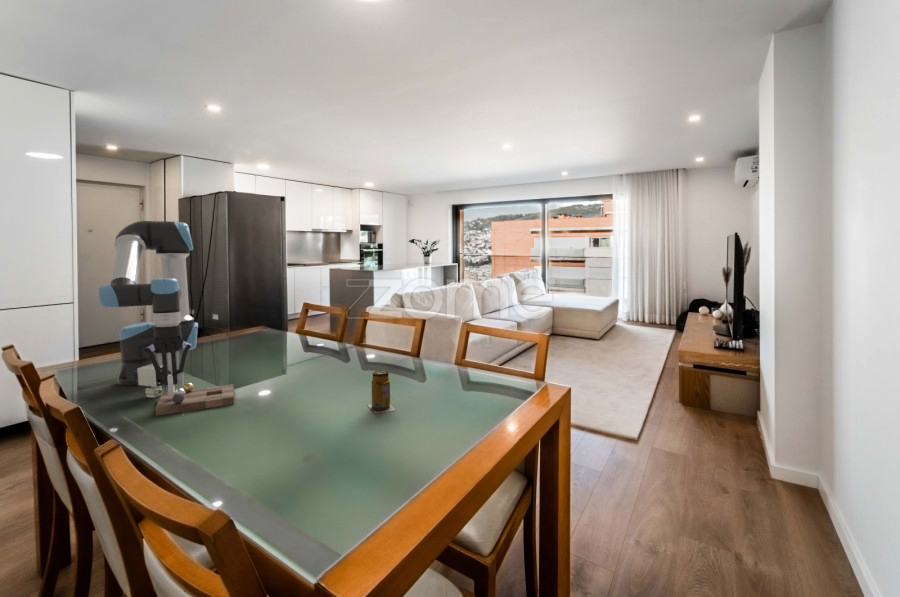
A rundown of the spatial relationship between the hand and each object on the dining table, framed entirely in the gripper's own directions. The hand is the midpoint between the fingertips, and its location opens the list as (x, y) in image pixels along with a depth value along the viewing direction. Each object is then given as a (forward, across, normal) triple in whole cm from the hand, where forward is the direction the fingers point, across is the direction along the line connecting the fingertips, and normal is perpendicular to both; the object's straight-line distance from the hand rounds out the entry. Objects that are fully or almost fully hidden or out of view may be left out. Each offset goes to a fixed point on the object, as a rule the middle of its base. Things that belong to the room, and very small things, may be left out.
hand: (171, 394), depth 138 cm
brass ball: (0, +4, +6) cm, 8 cm away
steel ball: (0, +2, 0) cm, 2 cm away
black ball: (0, +2, -6) cm, 6 cm away
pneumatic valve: (+4, -7, +15) cm, 17 cm away
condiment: (+4, +62, -35) cm, 71 cm away
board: (+4, +7, 0) cm, 8 cm away
